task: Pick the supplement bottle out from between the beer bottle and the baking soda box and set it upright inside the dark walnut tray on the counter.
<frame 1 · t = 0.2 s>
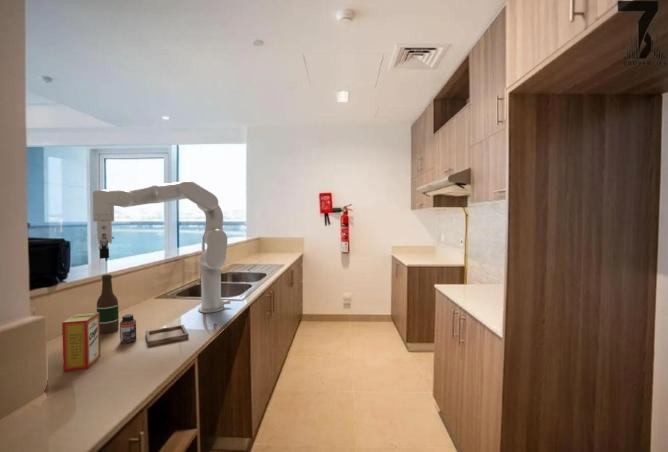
hand: (104, 257, 141), 31 cm above the counter, tool pointing down, fingers open, 9 cm apart
walnut tray: (166, 337, 129), on the counter
baking soda box: (82, 364, 106), on the counter
supplement bottle: (128, 341, 125), on the counter
beer bottle: (108, 331, 136), on the counter
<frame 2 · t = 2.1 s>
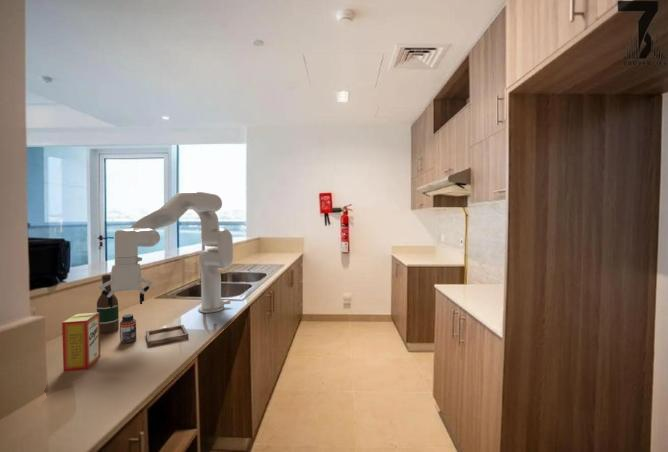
hand: (126, 305, 124), 14 cm above the counter, tool pointing down, fingers open, 9 cm apart
nothing on the counter moved.
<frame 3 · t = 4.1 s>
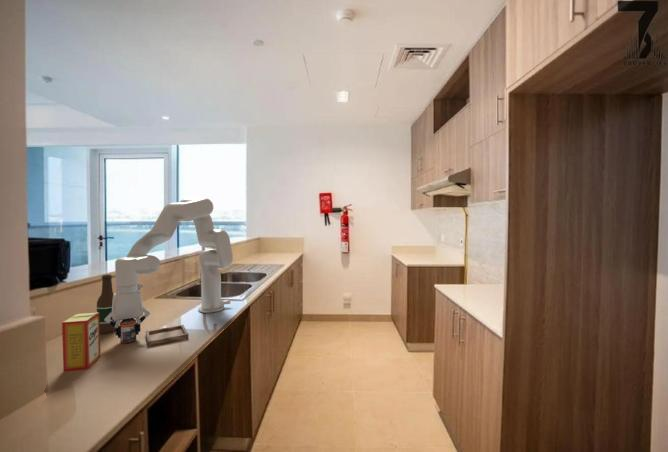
hand: (128, 334, 125), 3 cm above the counter, tool pointing down, fingers closed on supplement bottle, 5 cm apart
supplement bottle: (128, 341, 125), on the counter, touching gripper
everything else where it was.
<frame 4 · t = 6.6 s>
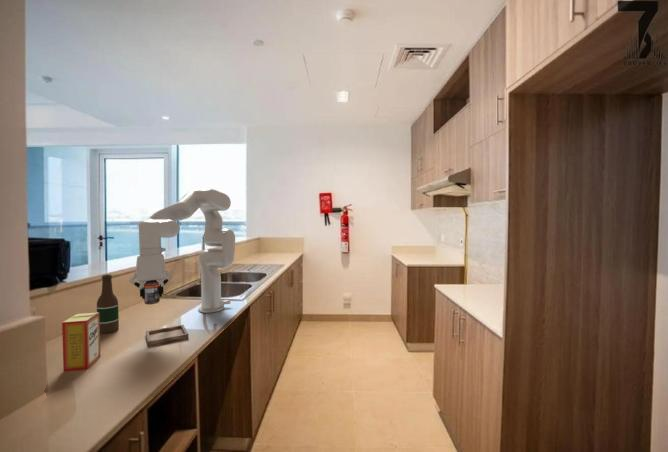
hand: (152, 296, 127), 17 cm above the counter, tool pointing down, fingers closed on supplement bottle, 5 cm apart
supplement bottle: (152, 303, 127), point 14 cm above the counter, touching gripper
everything else where it was.
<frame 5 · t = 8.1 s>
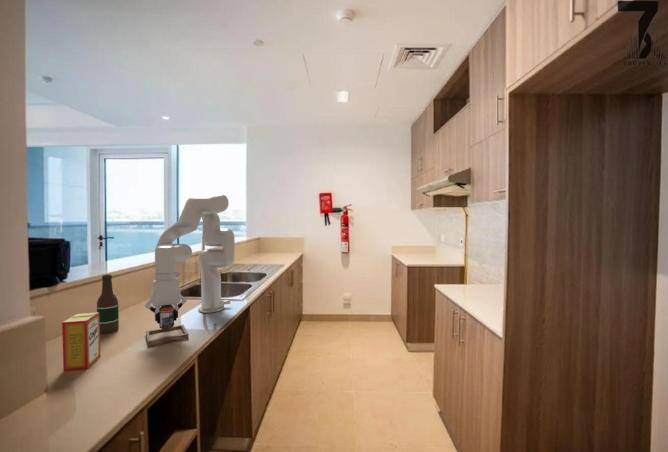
hand: (166, 320, 129), 7 cm above the counter, tool pointing down, fingers closed on supplement bottle, 5 cm apart
supplement bottle: (166, 327, 129), point 4 cm above the counter, touching gripper
everything else where it was.
when the fingers open (5 cm above the counter, at t = 9.3 s): supplement bottle drops 1 cm, resting on walnut tray.
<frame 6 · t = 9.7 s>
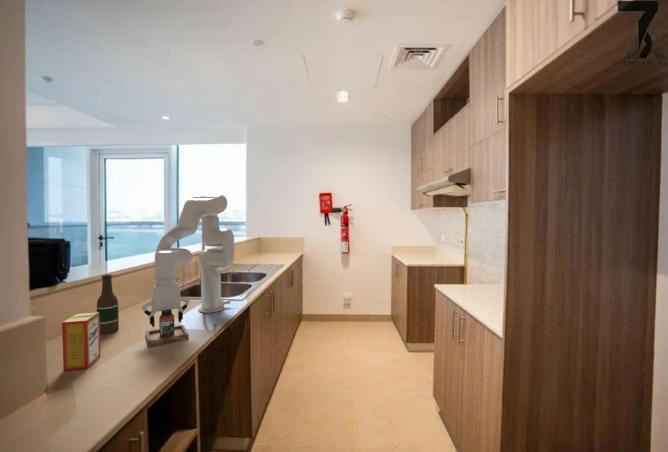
hand: (166, 323, 129), 6 cm above the counter, tool pointing down, fingers open, 9 cm apart
supplement bottle: (167, 335, 129), point 1 cm above the counter, touching walnut tray
everything else where it was.
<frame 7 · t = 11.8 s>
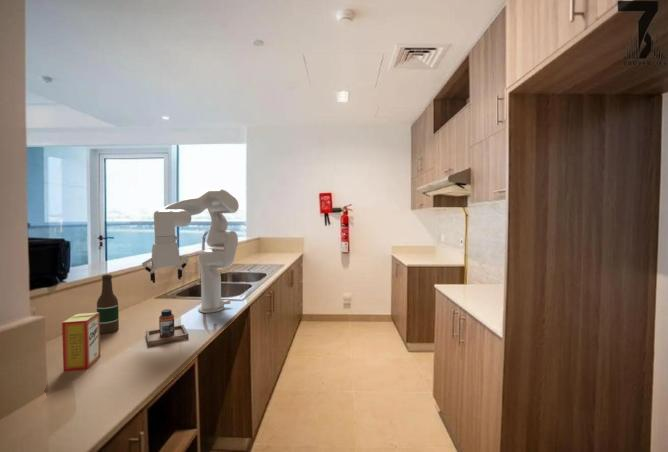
hand: (166, 280, 134), 22 cm above the counter, tool pointing down, fingers open, 9 cm apart
nothing on the counter moved.
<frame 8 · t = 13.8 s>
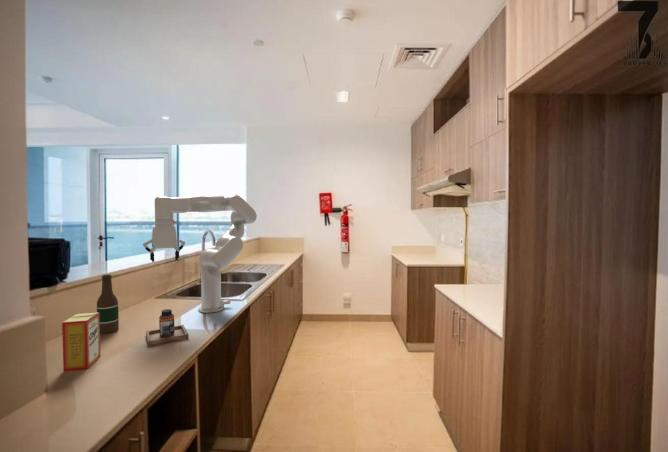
hand: (165, 260, 148), 28 cm above the counter, tool pointing down, fingers open, 9 cm apart
nothing on the counter moved.
at the end: supplement bottle inside the target area on the walnut tray (0.1 cm from its centre), point 0.6 cm above the walnut tray's base; supplement bottle tilted 0°; the gripper is holding nothing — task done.
